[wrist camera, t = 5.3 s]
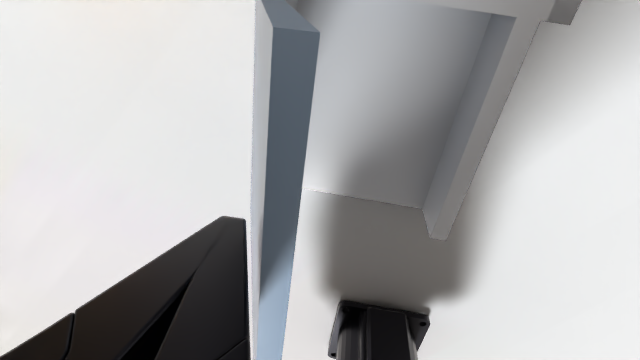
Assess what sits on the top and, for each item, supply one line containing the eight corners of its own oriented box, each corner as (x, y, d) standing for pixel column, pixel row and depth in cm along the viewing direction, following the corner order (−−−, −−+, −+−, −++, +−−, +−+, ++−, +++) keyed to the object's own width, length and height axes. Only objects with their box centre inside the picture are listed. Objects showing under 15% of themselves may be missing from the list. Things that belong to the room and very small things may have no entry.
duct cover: (276, 402, 9) (253, 405, 9) (262, 208, 16) (250, 208, 16) (320, 32, 4) (272, 27, 4) (273, -10, 12) (255, -12, 11)
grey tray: (452, 209, 19) (466, 244, 16) (253, 175, 19) (237, 205, 17) (669, -315, 9) (784, -427, 7) (269, -364, 10) (236, -488, 7)
